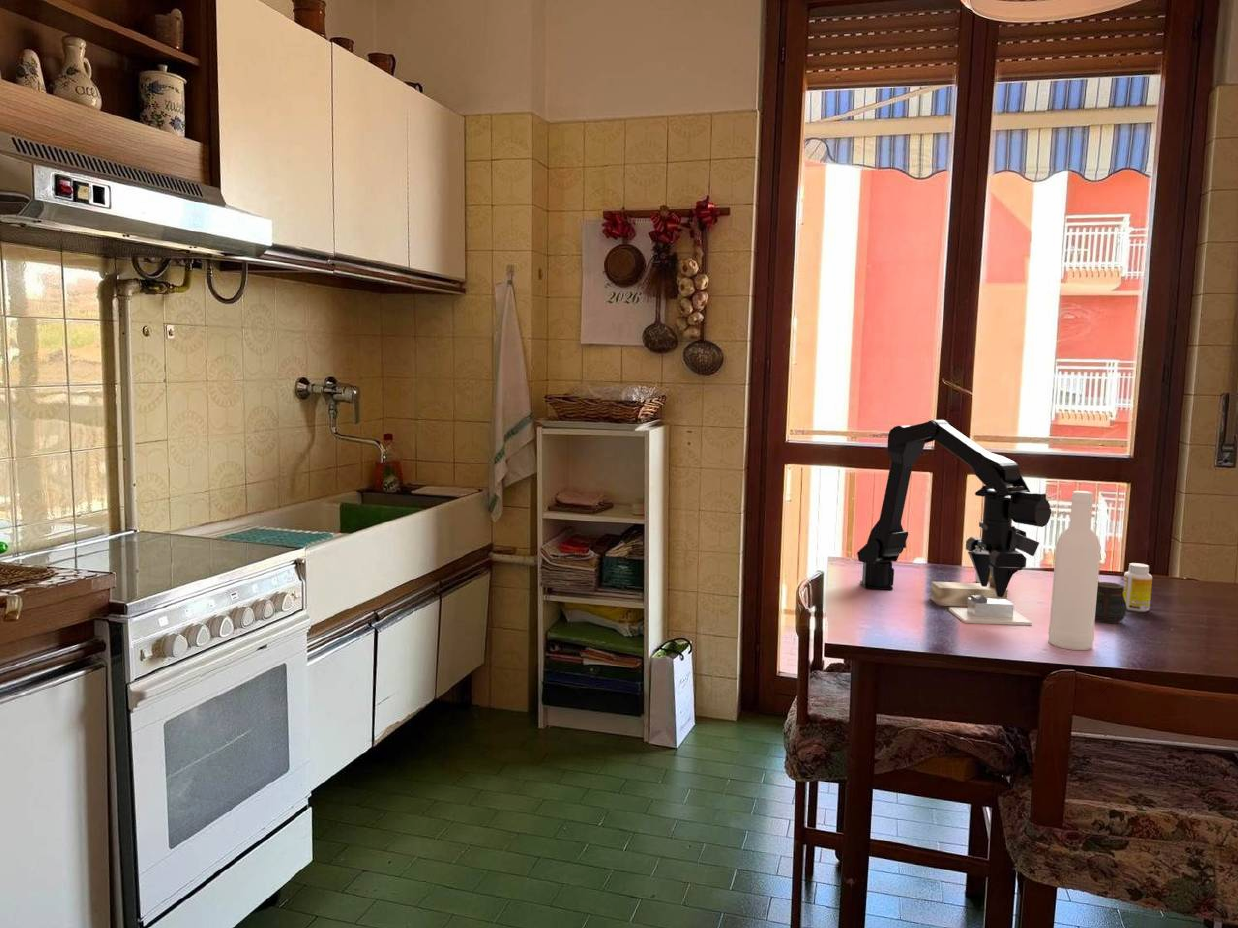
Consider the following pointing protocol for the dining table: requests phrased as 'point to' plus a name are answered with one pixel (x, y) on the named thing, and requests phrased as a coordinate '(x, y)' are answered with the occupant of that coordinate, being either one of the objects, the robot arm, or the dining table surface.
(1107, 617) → the mate gourd
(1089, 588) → the bottle
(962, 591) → the body
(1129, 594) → the supplement bottle
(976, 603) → the lever cap
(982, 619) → the board
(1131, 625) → the dining table surface
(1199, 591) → the dining table surface
